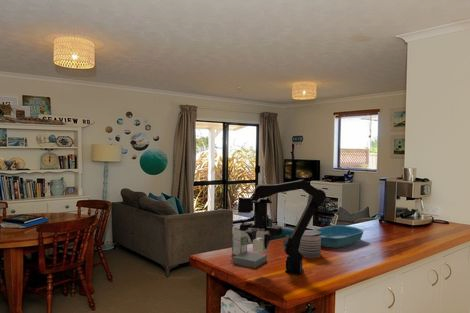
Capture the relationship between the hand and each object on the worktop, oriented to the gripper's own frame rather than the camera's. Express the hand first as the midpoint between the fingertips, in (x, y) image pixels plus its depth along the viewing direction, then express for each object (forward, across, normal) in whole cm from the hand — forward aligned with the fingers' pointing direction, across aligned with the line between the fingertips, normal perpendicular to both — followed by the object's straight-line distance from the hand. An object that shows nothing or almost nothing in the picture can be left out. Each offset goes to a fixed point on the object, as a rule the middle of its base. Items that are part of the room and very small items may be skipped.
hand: (260, 248), depth 158 cm
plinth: (+10, +10, -9) cm, 17 cm away
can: (+11, -10, -37) cm, 40 cm away
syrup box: (+11, +21, -18) cm, 30 cm away
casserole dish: (+11, -15, -71) cm, 73 cm away
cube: (+1, 0, 0) cm, 1 cm away
